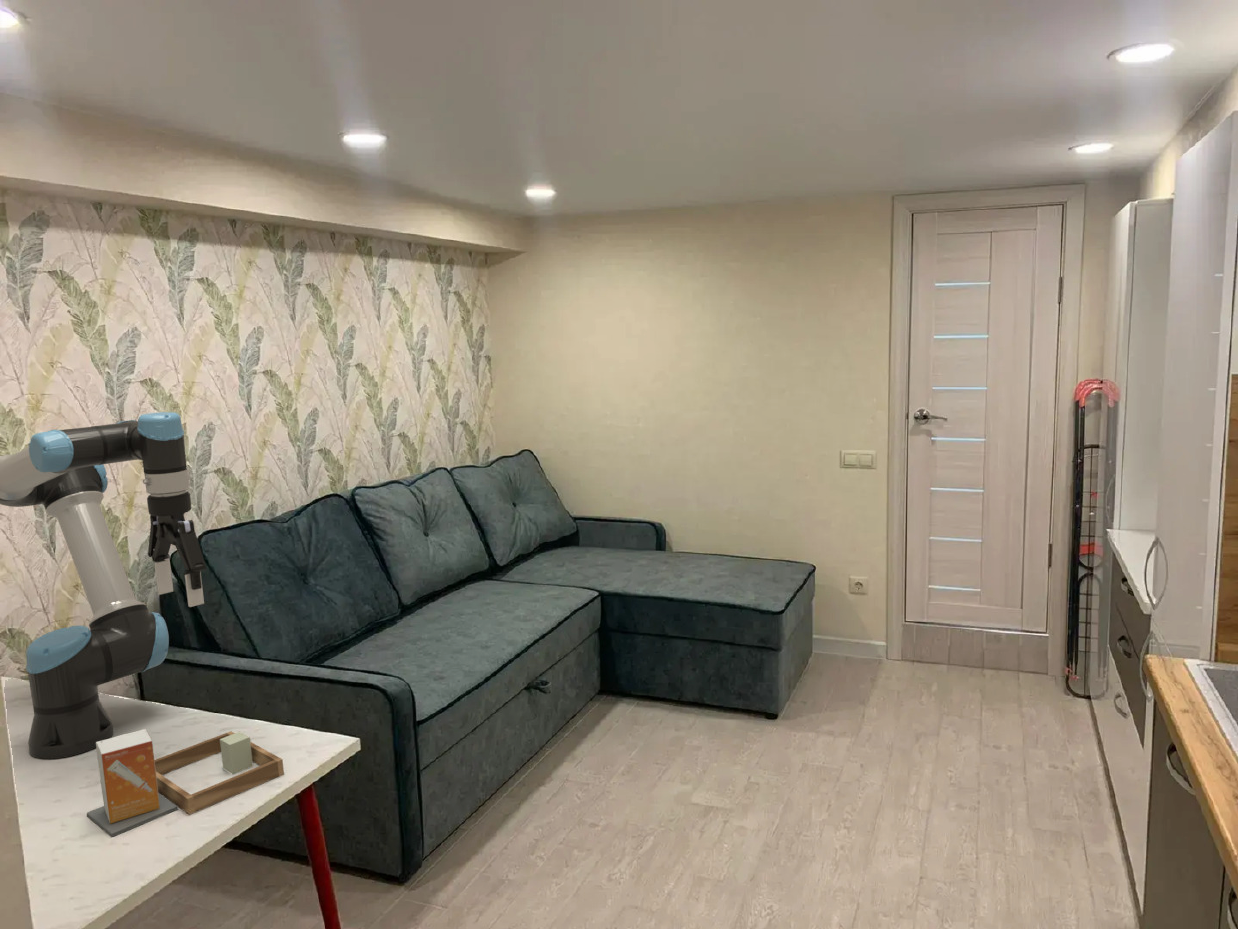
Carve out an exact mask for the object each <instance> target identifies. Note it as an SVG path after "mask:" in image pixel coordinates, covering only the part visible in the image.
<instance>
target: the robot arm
mask: <svg viewBox="0 0 1238 929" xmlns="http://www.w3.org/2000/svg"><path fill="white" fill-rule="evenodd" d="M181 418H182V417H181V415H180V414H179V413H178V412H174V411H171V412H170V411H168V412H167V411H164V412H150V413H144V414H143V413H142V414H141V415H139V417H138V419H137V420H136V419H129V420H122V421H118V422H116V423H109V424H108V423H107V424H101V425H93V426H87V427H86V426H85V427H76V428H67V429H51V430H47V431H43V432H37V433H34V434H33V435H32V436H31V437H30V441H29V443H28V447H25V448H24V449H21V450H20V451H17V452H16V453H14V454H4V455H0V505H1V506H4V507H5V506H6V507H11V508H12V507H15V508H22V507H32V506H37V505H43V507H44V509H45V512H46V514H47V515H48V516H52V517H54V518H56V520H57V522H58V525H59V527H60V530H61V532H62V535H63V537H64V540H65V542H66V545H67V548H68V551H69V554H70V555H71V559H72V561H73V564H74V567H75V569H76V571H77V575H78V577H79V580H80V583H81V585H82V589H83V591H84V593H85V595H86V598H87V601H88V604H89V607H90V609H91V612H92V614H93V616H92V618H91V620H90V621H89V623H88V626H85V625H71V626H69V627H62V628H61V627H60V628H59V629H56V630H52V631H49V632H47V633H45V634H43V635H41V636H39V637H37V638H35V639H34V640H33V641H32V642H31V643H29V645H28V646H27V647H26V652H25V656H26V657H25V658H26V666H25V668H26V669H25V670H26V672H27V674H28V680H29V688H30V693H31V694H30V695H31V701H32V707H33V708H32V709H33V718H32V722H31V728H30V732H29V735H28V736H29V737H28V739H27V740H28V741H27V744H28V752H29V755H31V757H33V758H35V759H36V758H37V759H45V760H51V759H54V760H55V759H63V758H67V757H72V756H76V755H80V754H83V753H87V752H88V751H91V750H93V749H97V748H96V742H98V741H102V740H106V739H110V738H113V735H114V729H113V723H112V720H111V718H110V717H109V715H108V713H107V711H106V710H105V708H104V707H103V704H102V703H101V701H100V696H99V690H98V686H100V685H104V684H106V683H109V682H110V683H111V682H113V681H116V680H119V679H123V678H125V677H129V676H132V675H135V674H138V673H144V672H146V671H147V670H150V669H152V668H155V667H158V666H159V665H161V664H163V662H164V661H165V659H166V658H167V655H168V651H169V645H170V644H169V643H170V642H169V641H170V640H169V639H170V637H169V631H168V626H167V623H166V620H165V619H164V617H163V616H162V615H161V614H160V613H158V612H150V611H149V608H148V606H147V604H146V603H144V602H141V601H140V600H138V599H136V597H135V595H134V590H133V589H132V586H131V583H130V582H129V578H128V576H127V573H126V571H125V568H124V566H123V563H122V561H121V557H120V555H119V553H118V549H117V547H116V545H115V542H114V539H113V537H112V535H111V532H110V530H109V527H108V525H107V521H106V519H105V516H104V514H103V512H102V508H101V506H100V505H101V502H102V501H103V499H104V498H105V495H104V493H105V492H106V490H107V488H108V484H109V481H108V477H107V470H106V467H105V465H109V464H115V463H123V462H129V461H138V460H139V461H142V467H143V473H144V474H143V475H144V479H143V480H142V483H143V484H144V485H145V490H146V493H147V494H149V495H148V496H147V498H146V500H147V509H148V514H149V515H150V516H149V517H150V518H149V519H150V529H149V539H148V549H147V556H148V557H149V558H151V560H152V561H153V562H154V572H155V580H156V589H157V595H160V596H161V595H164V594H168V593H172V592H174V585H173V578H172V569H171V562H170V559H171V557H172V556H170V554H169V552H170V549H171V546H175V548H176V551H177V553H178V555H179V556H180V559H181V561H182V565H184V568H185V570H184V571H183V576H184V579H185V590H186V598H187V604H188V605H187V606H188V607H189V608H192V607H195V606H200V605H204V604H205V601H204V600H205V598H204V592H203V582H202V571H203V570H207V565H206V564H207V563H206V562H205V559H204V555H203V553H202V549H201V546H200V543H199V540H198V536H197V534H196V529H195V524H194V521H193V519H189V520H186V519H185V514H187V513H188V512H190V511H191V510H192V502H191V494H190V492H189V491H187V490H189V489H190V481H189V470H188V466H187V455H186V447H185V437H184V434H185V431H184V428H183V426H182V419H181Z"/></svg>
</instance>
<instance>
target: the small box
mask: <svg viewBox="0 0 1238 929" xmlns="http://www.w3.org/2000/svg"><path fill="white" fill-rule="evenodd" d="M151 738H152V737H151V736H150V734H149V733H148V731H147V728H143V729H140V730H137V731H133V732H132V731H131V732H130V733H123V734H120V735H117V736H112V737H111V738H110V739H106V740H102V741H98V742H96V748H95V749H96V755H97V762H98V772H99V777H100V778H99V780H100V787H101V788H100V789H101V793H102V794H101V795H102V801H103V806H104V808H105V812H106V814H107V817H108V820H109V823H110V824H111V823H114V822H117V821H120V820H123V819H127V818H130V817H133V816H136V815H140V814H143V813H147V812H150V811H153V810H158V809H160V804H159V795H158V786H157V778H156V770H155V761H154V760H155V753H154V746H153V741H152V739H151Z"/></svg>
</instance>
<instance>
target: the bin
mask: <svg viewBox="0 0 1238 929" xmlns="http://www.w3.org/2000/svg"><path fill="white" fill-rule="evenodd" d="M235 733H236V732H233V731H231V730H230V731H228V732H226V733H223V734H220V735H217V736H214V737H211V738H209V739H206V740H203V741H202V742H201V741H200V742H199V743H196V744H193V745H190V746H189V747H188V746H187V747H185V748H182V749H180V750H178V751H174V752H172V753H170V754H167V755H164V756H161V757H159V758H156V759H154V761H155V770H156V778H157V786H158V793H159V794H161V795H162V796H164V797H165V798H166V799H168V800H169V801H171V802H172V803H173V804H175V805H176V806H177V807H178V808H179V809H181V810H182V811H184V812H185V813H187V814H188V815H192V814H195V813H196V812H200V811H201V810H203V809H206V808H208V807H209V808H210V807H211V806H213V805H216V804H217V803H220V802H222V801H224V800H227V799H229V798H232V797H234V796H236V795H239V794H241V793H243V792H245V791H248V790H250V789H253V788H254V787H257V786H260V785H262V784H264V783H267V782H269V781H271V780H274V779H275V778H278V777H280V776H283V775H284V774H285V772H284V769H285V768H284V762H283V759H282V758H281V757H280V756H278V755H275V754H273V753H272V752H270V751H269V750H267V749H265V748H263V747H261V746H259V745H257V744H256V743H253V742H251V741H250V743H251V753H252V762H254V763H255V764H257V765H259V766H257V767H255V768H252V769H250V770H248V771H245V772H242V773H240V774H237V775H235V776H233V777H231V778H228V779H225V780H223V781H220V782H218V783H216V784H213V785H211V786H208V787H206V788H203V789H201V790H199V791H197V792H194V793H192V794H191V793H189V792H188V791H186V790H185V789H183V788H182V787H180V786H179V785H177V784H176V783H174V782H173V781H172V780H170V779H168V778H167V777H166V776H164V775H165V774H167V773H170V772H173V771H175V770H177V769H180V768H183V767H186V766H188V765H191V764H194V763H196V762H199V761H200V760H203V759H206V758H208V757H211V756H214V755H216V754H219V753H221V746H220V739H222V738H224V737H227V736H229V735H232V734H235Z"/></svg>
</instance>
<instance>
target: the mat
mask: <svg viewBox="0 0 1238 929" xmlns="http://www.w3.org/2000/svg"><path fill="white" fill-rule="evenodd" d="M158 795H159V804H160V809H158V810H153V811H150V812H147V813H143V814H140V815H136V816H133V817H130V818H127V819H123V820H120V821H117V822H114V823H111V824H110V823H109V820H108V817H107V814H106V812H105V808H104V805H103V806H100V807H98V808H95V809H93V810H89V811H88V812H86V817H88V818H89V819H90V820H91V821H93V822H94V824H96V825H97V826H98V827H99V828H101V829H102V830H103V831H104V832H106V833H107V834H108V835H109V836H110V837H112V838H113V837H115V836H116V837H117V836H118V835H121V834H123V833H125V832H128V831H131V830H132V829H135V828H137V827H139V826H142V825H144V824H147V823H149V822H152V821H155V820H157V819H158V818H161V817H163V816H166V815H168V814H170V813H173V812H176V811H178V810H179V809H178V808H179V807H178V806H177V805H175V804H174V803H172V802H171V801H170V800H168V799H167V798H165V797H164V796H163V795H161V794H160V793H158Z"/></svg>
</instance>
